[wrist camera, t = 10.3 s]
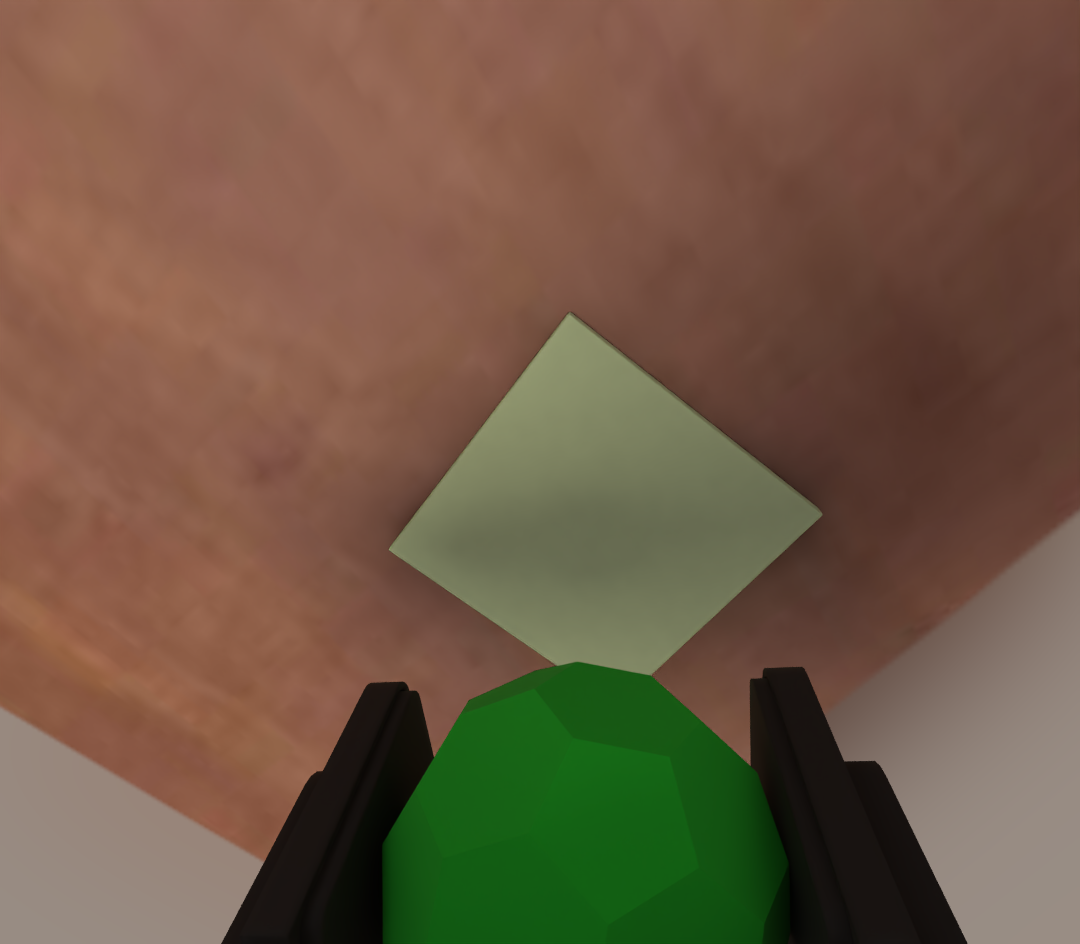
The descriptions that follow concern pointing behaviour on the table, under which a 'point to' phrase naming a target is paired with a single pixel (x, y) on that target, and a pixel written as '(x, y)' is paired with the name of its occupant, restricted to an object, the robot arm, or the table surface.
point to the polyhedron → (585, 825)
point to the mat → (600, 512)
